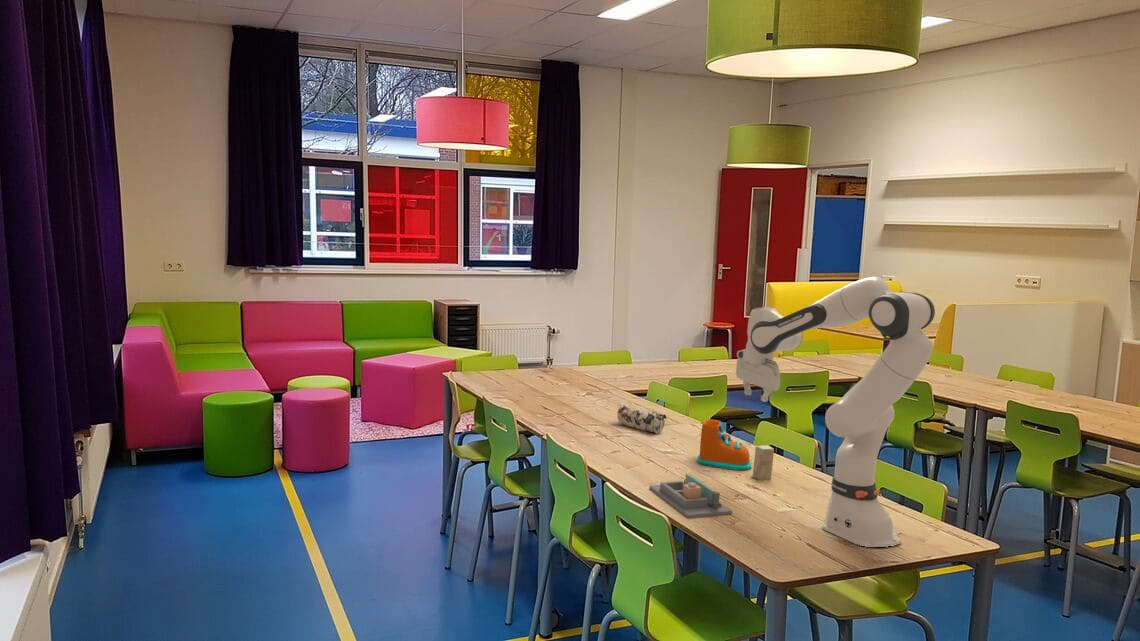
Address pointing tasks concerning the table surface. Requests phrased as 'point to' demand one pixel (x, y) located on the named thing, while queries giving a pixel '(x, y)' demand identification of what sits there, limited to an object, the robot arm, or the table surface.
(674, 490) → the housing
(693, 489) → the peach button block
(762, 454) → the box
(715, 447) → the toy shoe
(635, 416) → the pencil case
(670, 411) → the table surface
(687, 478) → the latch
